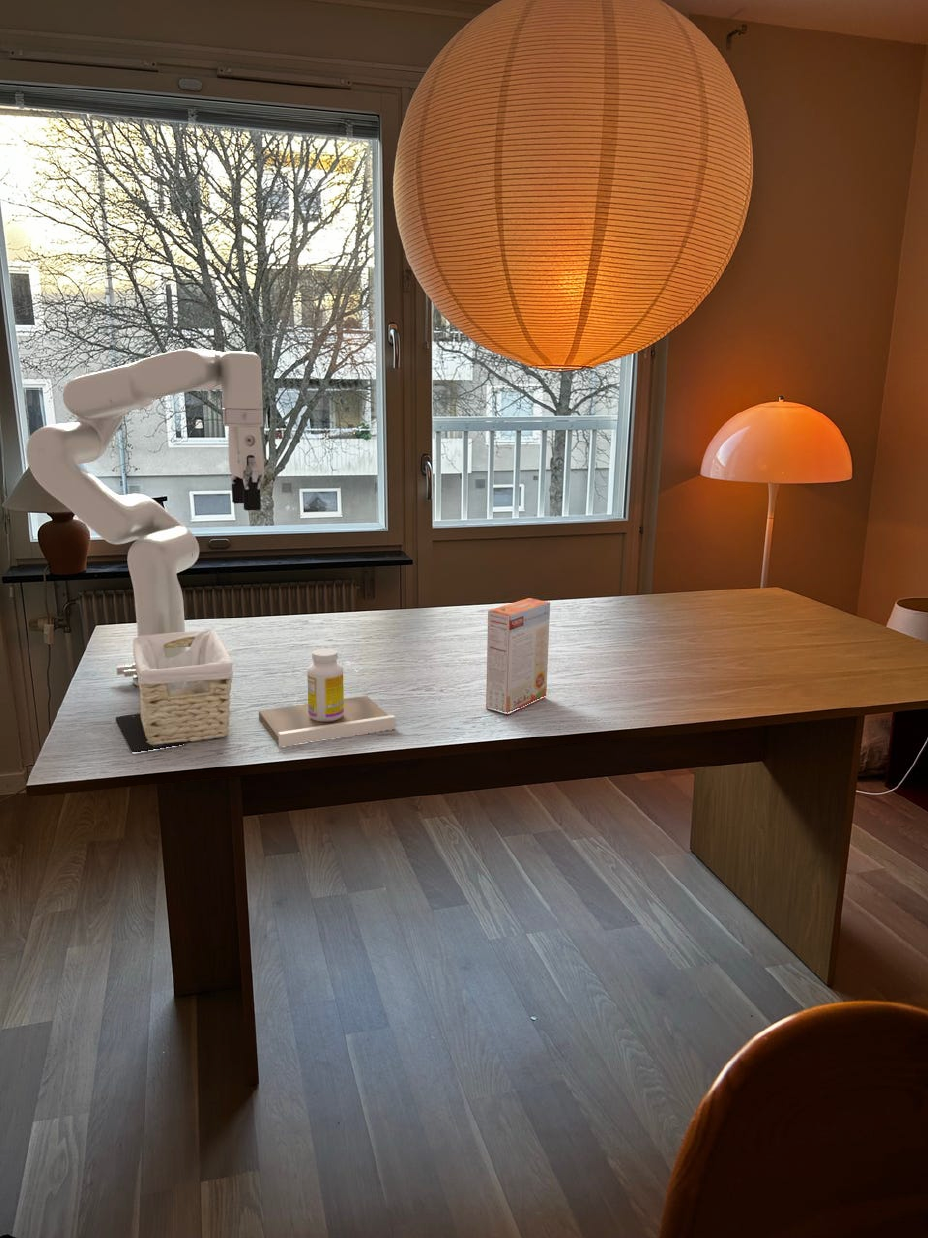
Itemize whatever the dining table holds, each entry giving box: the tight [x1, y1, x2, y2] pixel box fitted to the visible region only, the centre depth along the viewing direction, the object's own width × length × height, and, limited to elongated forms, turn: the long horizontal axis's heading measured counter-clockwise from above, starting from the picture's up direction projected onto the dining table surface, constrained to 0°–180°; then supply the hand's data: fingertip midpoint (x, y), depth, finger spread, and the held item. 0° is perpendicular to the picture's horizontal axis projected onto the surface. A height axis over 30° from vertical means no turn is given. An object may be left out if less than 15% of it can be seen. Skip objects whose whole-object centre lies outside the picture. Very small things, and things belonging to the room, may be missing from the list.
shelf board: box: [258, 695, 389, 745], centre depth 170 cm, size 22×14×2 cm, turn 117°
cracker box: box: [485, 597, 551, 713], centre depth 181 cm, size 14×6×21 cm, turn 141°
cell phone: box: [115, 712, 185, 753], centre depth 164 cm, size 9×18×1 cm, turn 29°
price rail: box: [278, 714, 396, 748], centre depth 164 cm, size 22×1×2 cm, turn 117°
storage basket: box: [132, 629, 234, 745], centre depth 167 cm, size 24×16×15 cm
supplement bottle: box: [306, 648, 345, 722], centre depth 168 cm, size 7×7×13 cm
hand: (246, 506), depth 178 cm, fingers open, 9 cm apart
